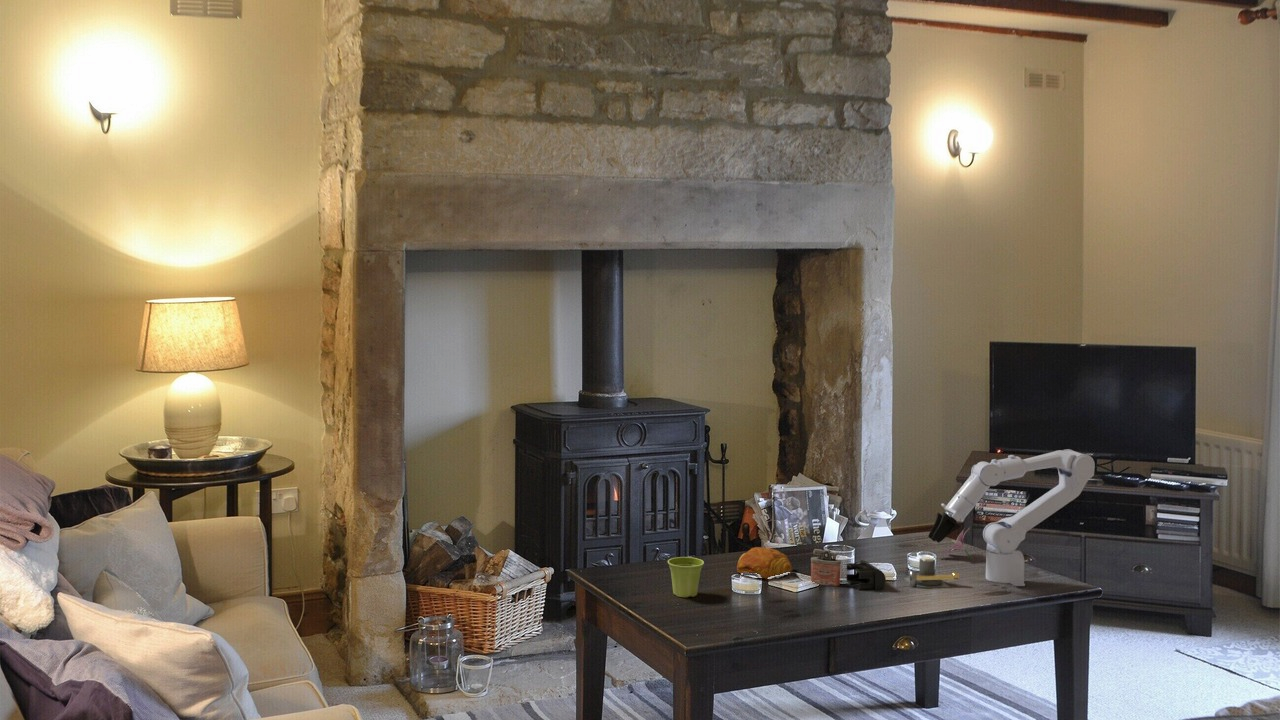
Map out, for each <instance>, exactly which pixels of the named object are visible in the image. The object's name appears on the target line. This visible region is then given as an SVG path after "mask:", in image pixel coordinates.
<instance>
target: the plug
mask: <svg viewBox="0 0 1280 720" xmlns="http://www.w3.org/2000/svg"><path fill="white" fill-rule="evenodd" d="M918 563H919V566H918V567H919V568H918V570H919V571H918V572H917V575H937V574H935V573H936V560H935V559H934V558H932V556H921V557H920V559H919V562H918ZM942 581H943V580H917V585H920V586H927V587H930V588H935V587H934V586H940V585H942Z"/></svg>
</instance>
